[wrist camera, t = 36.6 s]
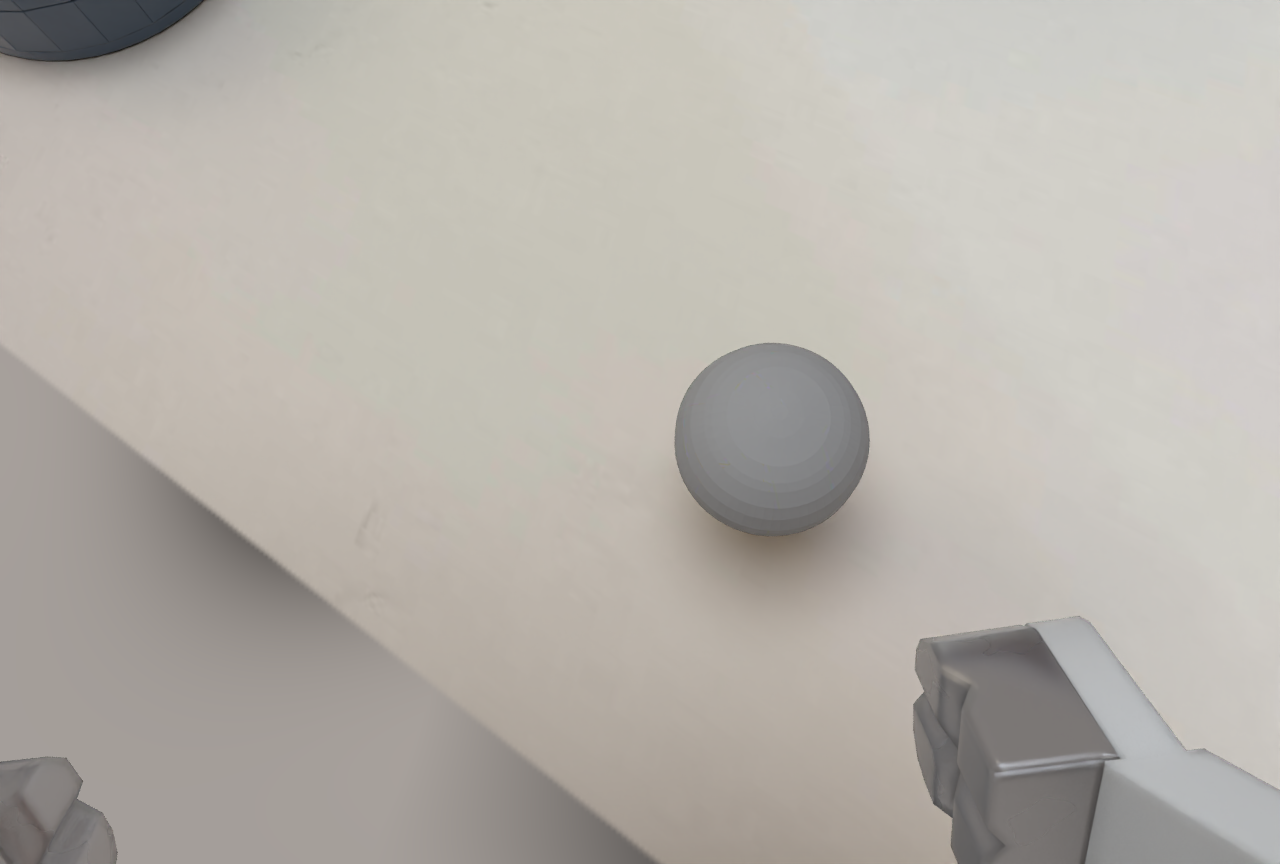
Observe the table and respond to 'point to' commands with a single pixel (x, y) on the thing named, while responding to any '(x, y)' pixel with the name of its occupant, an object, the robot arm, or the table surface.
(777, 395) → the light bulb
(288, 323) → the table surface
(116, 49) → the bowl
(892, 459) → the table surface
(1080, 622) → the robot arm
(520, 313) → the table surface
